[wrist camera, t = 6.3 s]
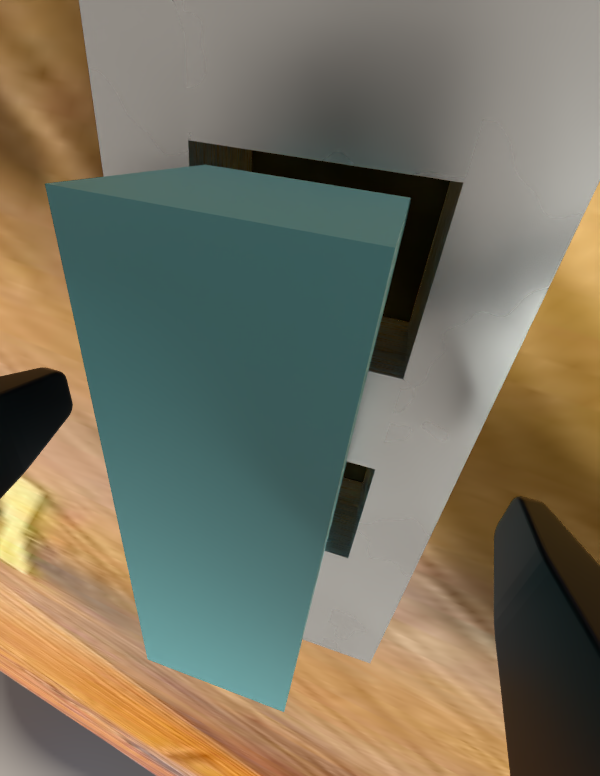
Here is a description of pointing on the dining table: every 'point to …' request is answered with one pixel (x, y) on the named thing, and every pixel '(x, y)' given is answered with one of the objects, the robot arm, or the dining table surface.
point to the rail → (396, 154)
